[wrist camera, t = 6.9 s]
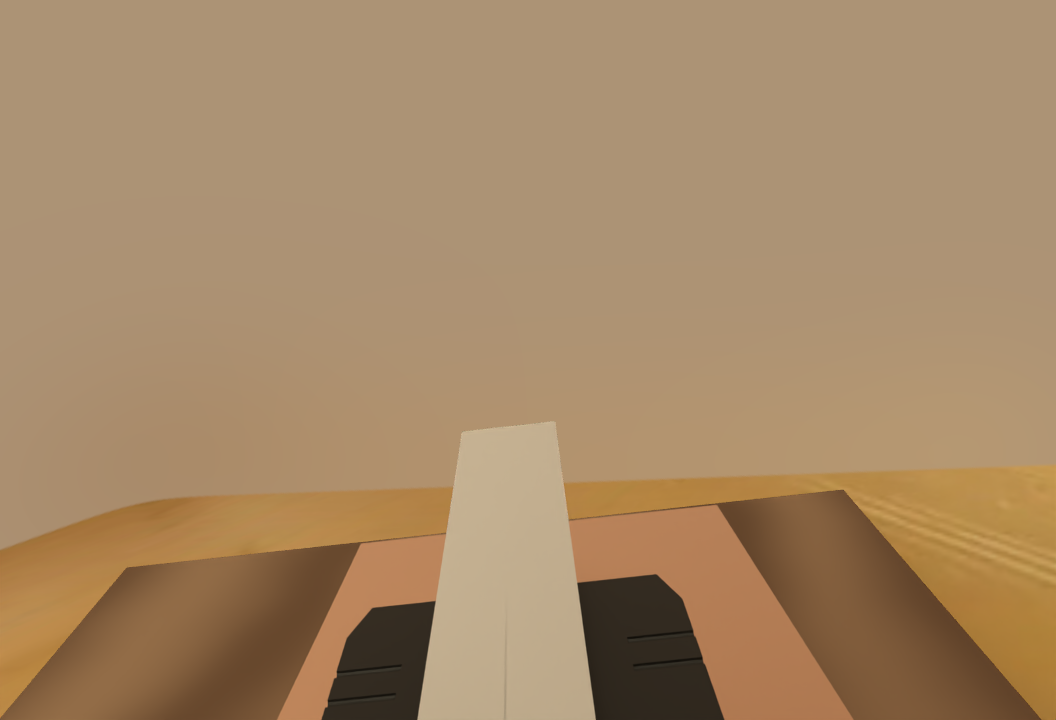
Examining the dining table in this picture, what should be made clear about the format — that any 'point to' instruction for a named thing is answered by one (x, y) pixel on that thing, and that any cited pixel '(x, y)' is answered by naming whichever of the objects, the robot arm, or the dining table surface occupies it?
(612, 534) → the tile
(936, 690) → the board
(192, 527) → the dining table surface
